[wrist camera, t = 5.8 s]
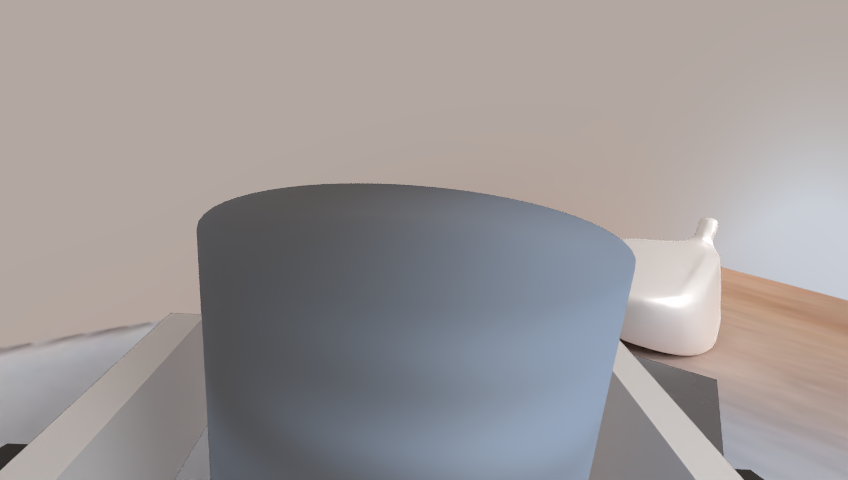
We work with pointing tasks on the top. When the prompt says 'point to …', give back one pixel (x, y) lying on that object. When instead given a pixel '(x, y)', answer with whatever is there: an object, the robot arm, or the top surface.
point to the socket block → (691, 397)
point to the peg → (406, 334)
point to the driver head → (675, 293)
